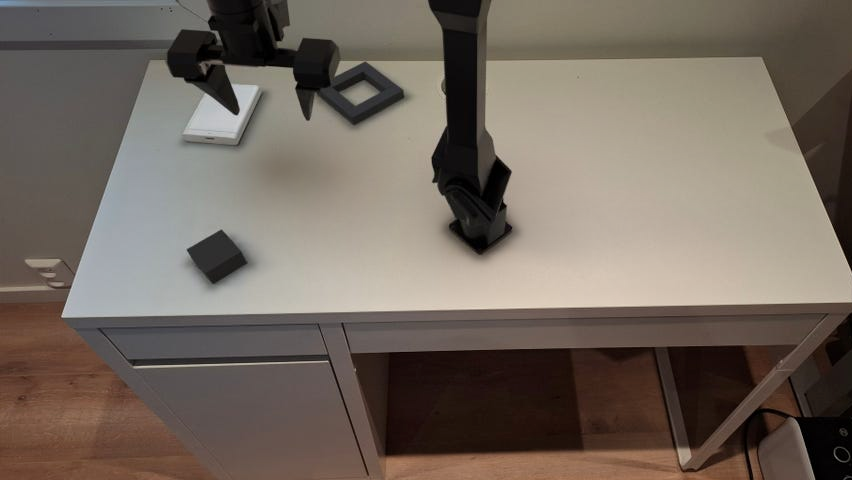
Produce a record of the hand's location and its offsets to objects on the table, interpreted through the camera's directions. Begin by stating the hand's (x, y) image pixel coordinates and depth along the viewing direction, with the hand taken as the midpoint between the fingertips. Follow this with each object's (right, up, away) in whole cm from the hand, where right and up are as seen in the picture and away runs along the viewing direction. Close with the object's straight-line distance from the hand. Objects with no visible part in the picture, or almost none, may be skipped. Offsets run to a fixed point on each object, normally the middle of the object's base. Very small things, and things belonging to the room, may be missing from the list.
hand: (273, 115), depth 76 cm
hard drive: (-14, +5, +19) cm, 24 cm away
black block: (-8, -19, +2) cm, 20 cm away
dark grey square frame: (+7, +9, +23) cm, 25 cm away
